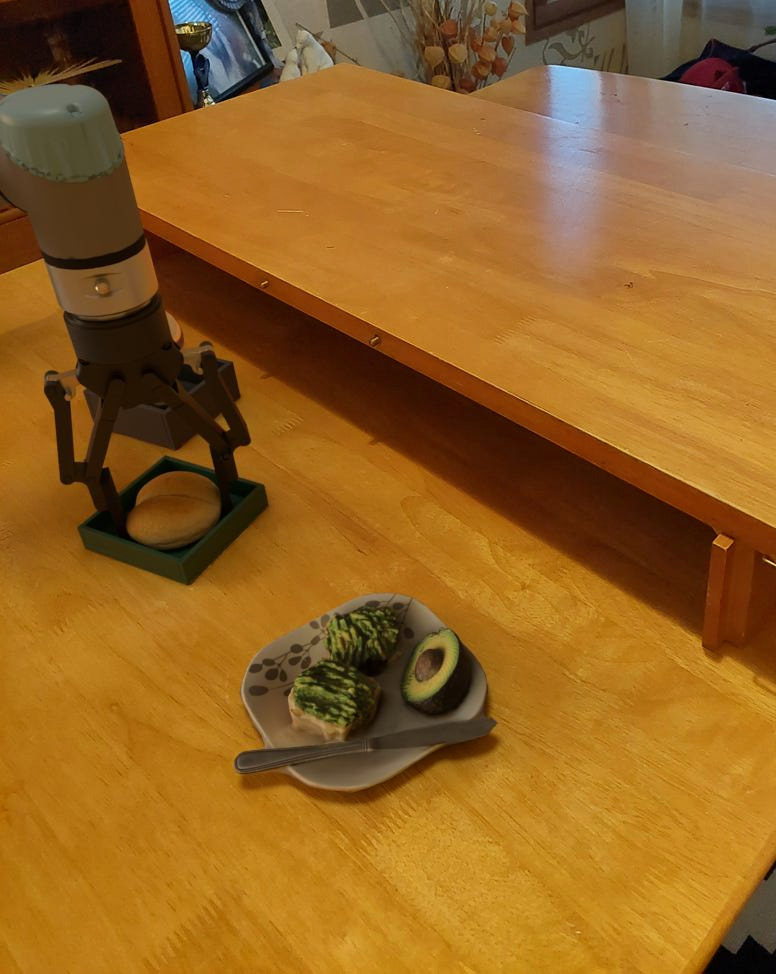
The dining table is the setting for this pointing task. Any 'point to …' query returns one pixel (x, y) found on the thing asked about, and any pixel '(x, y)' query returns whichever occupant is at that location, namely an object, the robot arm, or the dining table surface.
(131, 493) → the tray
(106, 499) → the robot arm
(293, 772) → the avocado toast plate
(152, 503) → the bread roll
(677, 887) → the dining table surface
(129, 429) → the bin
